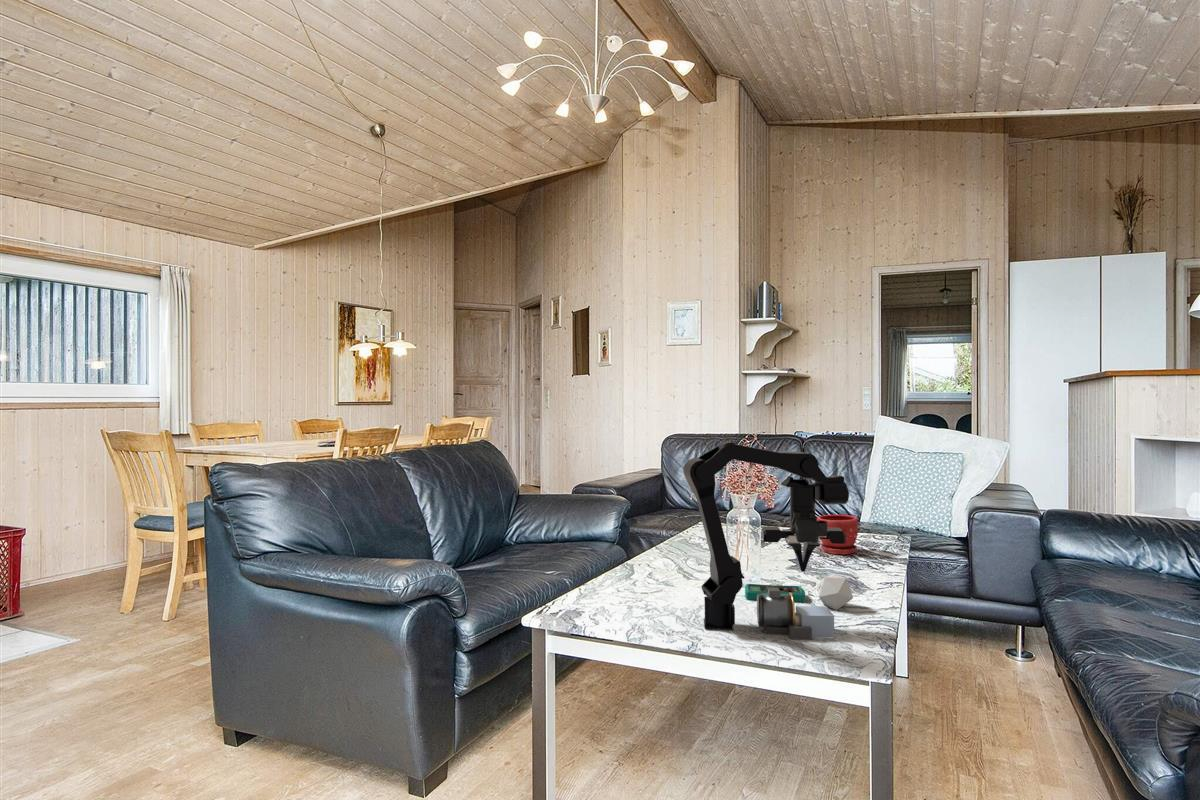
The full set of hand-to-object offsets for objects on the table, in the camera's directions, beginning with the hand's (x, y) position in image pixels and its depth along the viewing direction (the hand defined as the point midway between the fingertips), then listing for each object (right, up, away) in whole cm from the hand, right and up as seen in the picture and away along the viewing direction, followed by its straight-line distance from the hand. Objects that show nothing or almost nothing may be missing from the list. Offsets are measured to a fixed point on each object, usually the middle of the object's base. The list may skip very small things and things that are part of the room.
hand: (802, 571), depth 165 cm
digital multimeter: (-2, -13, +20) cm, 24 cm away
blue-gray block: (+1, -12, -7) cm, 14 cm away
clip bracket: (-3, -12, -7) cm, 14 cm away
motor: (-9, -12, -6) cm, 16 cm away
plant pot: (+33, -12, +73) cm, 81 cm away
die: (+11, -12, +12) cm, 21 cm away
